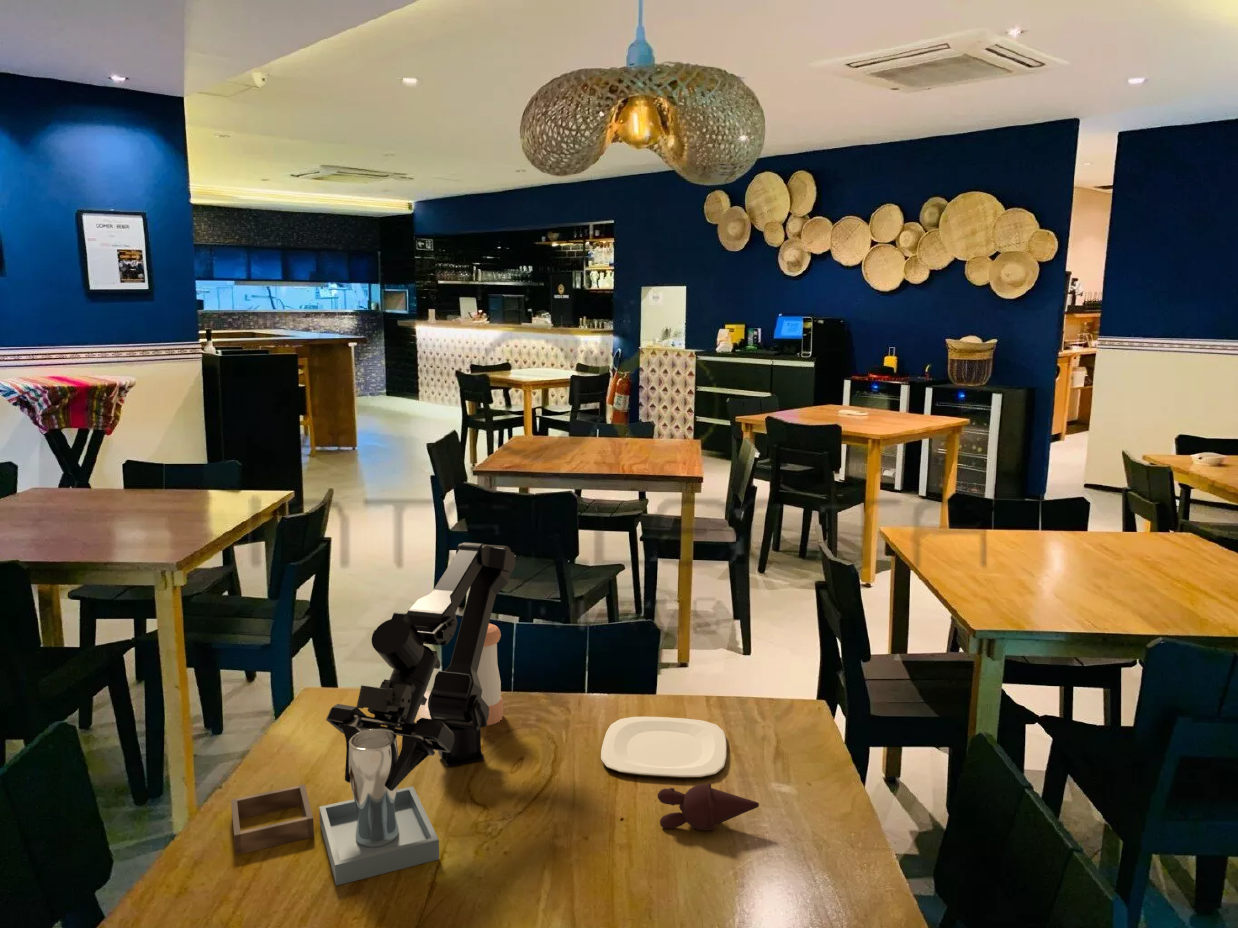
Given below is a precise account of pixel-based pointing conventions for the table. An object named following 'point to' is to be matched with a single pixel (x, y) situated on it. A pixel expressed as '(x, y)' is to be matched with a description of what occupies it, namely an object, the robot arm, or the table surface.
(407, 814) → the tray
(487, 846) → the table surface
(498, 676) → the salt shaker
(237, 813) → the rectangular frame
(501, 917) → the table surface
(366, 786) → the silver metal cup
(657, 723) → the plate
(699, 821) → the icecream
